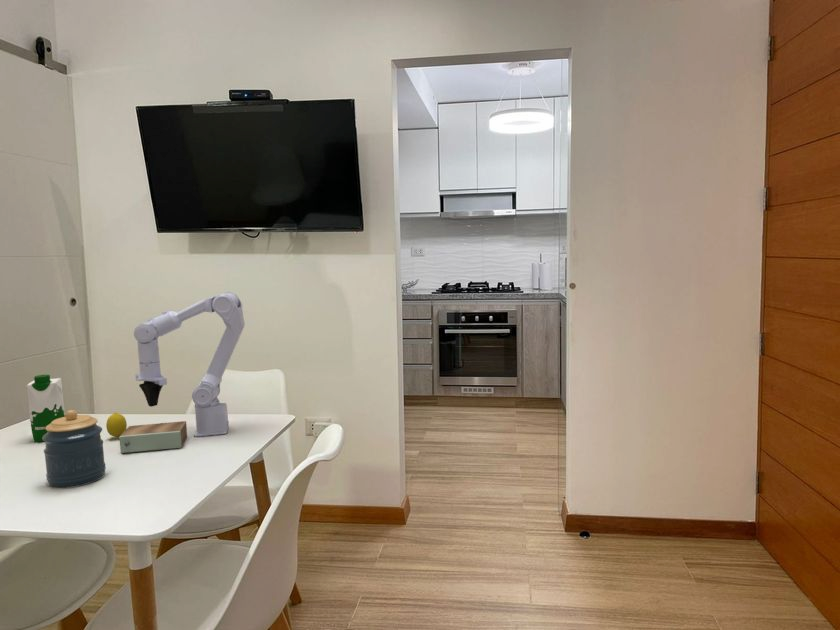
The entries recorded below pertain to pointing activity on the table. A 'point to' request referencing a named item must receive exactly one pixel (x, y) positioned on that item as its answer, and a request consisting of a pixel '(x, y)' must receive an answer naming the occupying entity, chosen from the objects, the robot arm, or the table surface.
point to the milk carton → (44, 404)
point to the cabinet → (158, 429)
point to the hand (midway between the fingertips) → (153, 405)
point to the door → (150, 441)
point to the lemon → (116, 425)
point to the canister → (73, 451)
